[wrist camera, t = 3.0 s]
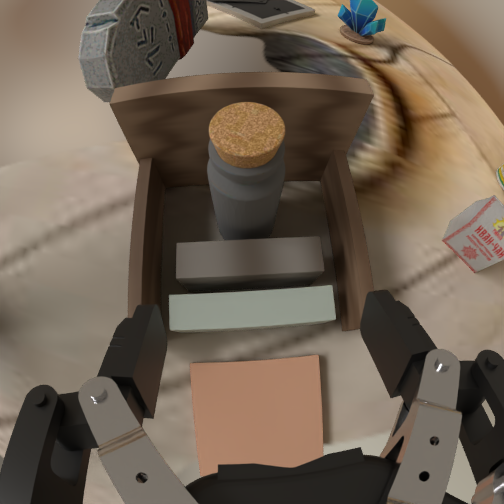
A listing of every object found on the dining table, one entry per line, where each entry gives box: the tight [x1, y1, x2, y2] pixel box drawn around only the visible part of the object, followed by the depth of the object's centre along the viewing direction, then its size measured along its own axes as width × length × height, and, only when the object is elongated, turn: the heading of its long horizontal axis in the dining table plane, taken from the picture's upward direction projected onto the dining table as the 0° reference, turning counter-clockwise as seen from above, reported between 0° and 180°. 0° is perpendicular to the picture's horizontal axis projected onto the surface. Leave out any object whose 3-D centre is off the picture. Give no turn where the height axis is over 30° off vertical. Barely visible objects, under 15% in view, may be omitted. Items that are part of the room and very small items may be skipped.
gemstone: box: [338, 0, 386, 44], centre depth 39 cm, size 7×9×12 cm
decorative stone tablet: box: [79, 0, 208, 102], centre depth 31 cm, size 19×6×30 cm
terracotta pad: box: [190, 355, 323, 476], centre depth 24 cm, size 12×12×1 cm
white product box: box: [442, 195, 504, 273], centre depth 26 cm, size 4×7×10 cm, turn 50°
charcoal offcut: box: [176, 236, 325, 292], centre depth 27 cm, size 12×3×6 cm, turn 93°
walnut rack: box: [110, 72, 374, 331], centre depth 24 cm, size 21×19×14 cm
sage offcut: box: [169, 285, 336, 333], centre depth 26 cm, size 14×3×4 cm, turn 94°
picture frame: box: [206, 0, 315, 29], centre depth 47 cm, size 16×3×21 cm
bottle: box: [207, 102, 285, 240], centre depth 24 cm, size 6×6×15 cm
